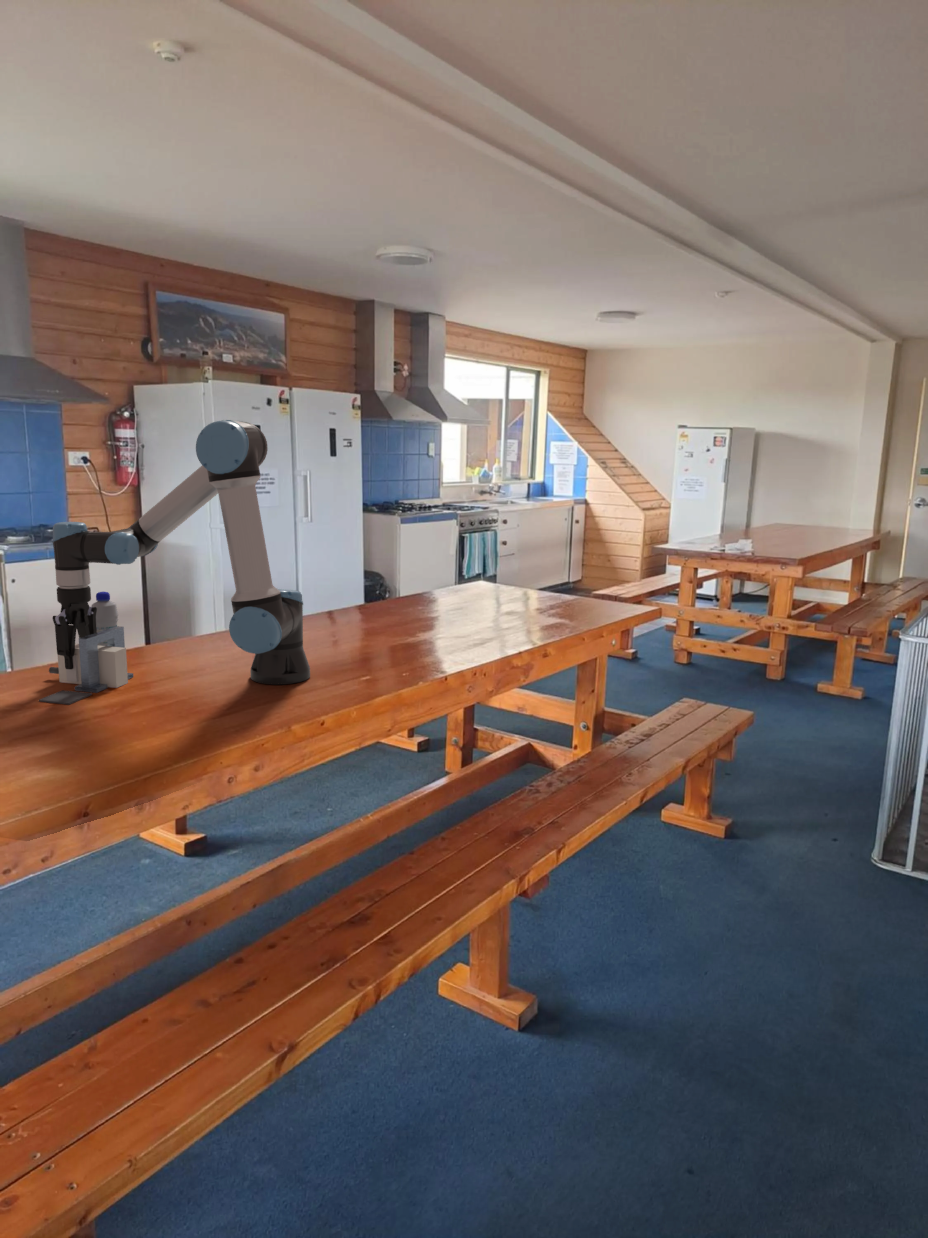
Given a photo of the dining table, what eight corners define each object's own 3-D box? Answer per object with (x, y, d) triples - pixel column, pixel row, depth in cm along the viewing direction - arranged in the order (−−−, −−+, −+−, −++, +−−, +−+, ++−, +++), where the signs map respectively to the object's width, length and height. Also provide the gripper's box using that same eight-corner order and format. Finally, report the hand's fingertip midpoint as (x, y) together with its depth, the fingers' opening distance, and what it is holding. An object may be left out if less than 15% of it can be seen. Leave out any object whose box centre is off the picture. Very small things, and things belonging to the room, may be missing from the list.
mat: (92, 694, 198) (92, 693, 198) (69, 704, 191) (69, 703, 190) (62, 691, 200) (62, 690, 200) (38, 701, 192) (38, 699, 192)
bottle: (92, 669, 220) (87, 594, 216) (95, 662, 226) (91, 589, 222) (119, 668, 222) (115, 593, 218) (122, 661, 228) (118, 589, 224)
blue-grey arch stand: (133, 677, 214) (130, 627, 211) (96, 692, 200) (93, 639, 197) (112, 675, 215) (109, 625, 212) (74, 690, 201) (71, 637, 198)
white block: (127, 683, 209) (125, 647, 207) (116, 687, 204) (114, 652, 202) (57, 676, 213) (55, 641, 211) (45, 680, 209) (42, 645, 207)
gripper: (83, 579, 213) (89, 668, 218) (34, 590, 196) (41, 686, 201) (109, 581, 212) (115, 670, 216) (62, 592, 195) (69, 689, 200)
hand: (79, 678), depth 209 cm, fingers closed on white block, 4 cm apart
